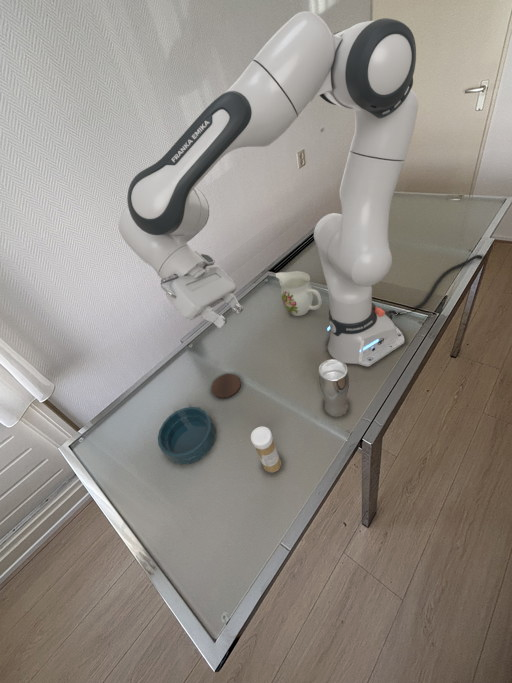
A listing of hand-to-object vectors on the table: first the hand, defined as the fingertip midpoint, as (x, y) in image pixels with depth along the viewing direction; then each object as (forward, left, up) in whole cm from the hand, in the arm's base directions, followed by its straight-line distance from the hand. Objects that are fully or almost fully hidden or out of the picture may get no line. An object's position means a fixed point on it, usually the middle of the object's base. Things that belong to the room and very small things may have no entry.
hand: (232, 318), depth 67 cm
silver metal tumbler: (-17, +9, -33) cm, 38 cm away
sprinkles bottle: (+4, +16, -33) cm, 37 cm away
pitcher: (-27, -33, -33) cm, 55 cm away
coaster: (+8, -13, -33) cm, 36 cm away
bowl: (+22, 0, -33) cm, 40 cm away
